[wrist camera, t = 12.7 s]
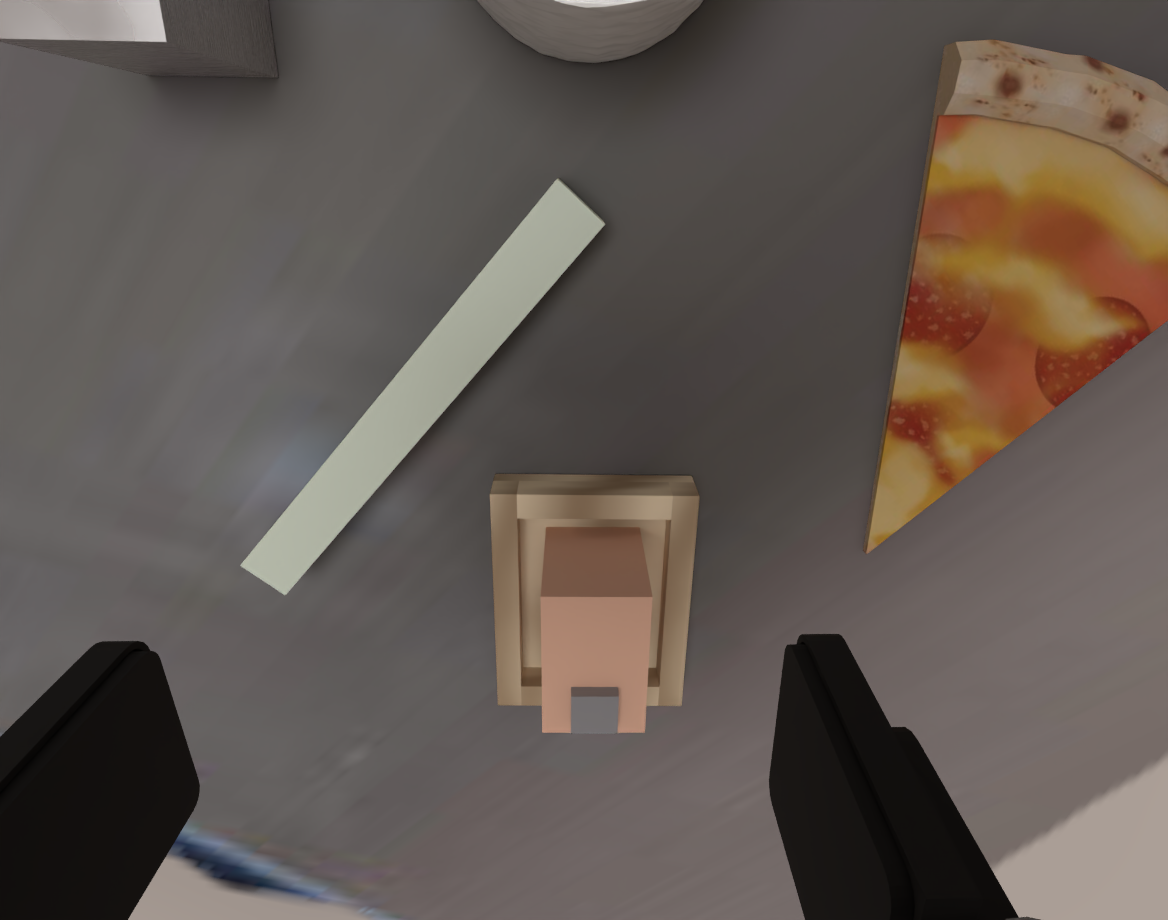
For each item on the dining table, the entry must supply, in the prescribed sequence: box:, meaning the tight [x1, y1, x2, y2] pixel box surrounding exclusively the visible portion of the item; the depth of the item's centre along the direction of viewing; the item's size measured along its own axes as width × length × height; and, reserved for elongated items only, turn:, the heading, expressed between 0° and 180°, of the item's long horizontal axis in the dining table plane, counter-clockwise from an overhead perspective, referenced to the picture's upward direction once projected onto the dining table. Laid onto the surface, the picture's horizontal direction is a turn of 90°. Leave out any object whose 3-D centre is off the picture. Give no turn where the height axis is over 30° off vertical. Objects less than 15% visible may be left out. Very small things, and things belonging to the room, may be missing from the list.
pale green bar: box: [240, 178, 605, 595], centre depth 30 cm, size 22×2×3 cm, turn 138°
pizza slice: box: [863, 40, 1168, 554], centre depth 30 cm, size 16×22×2 cm
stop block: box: [541, 527, 653, 734], centre depth 32 cm, size 4×7×7 cm, turn 179°
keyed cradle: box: [490, 474, 699, 706], centre depth 35 cm, size 9×12×2 cm
